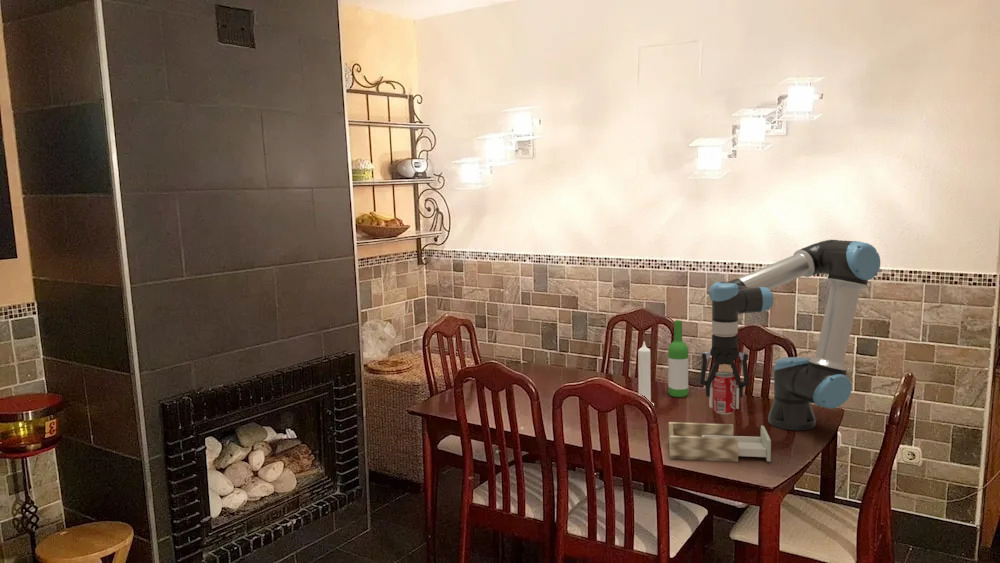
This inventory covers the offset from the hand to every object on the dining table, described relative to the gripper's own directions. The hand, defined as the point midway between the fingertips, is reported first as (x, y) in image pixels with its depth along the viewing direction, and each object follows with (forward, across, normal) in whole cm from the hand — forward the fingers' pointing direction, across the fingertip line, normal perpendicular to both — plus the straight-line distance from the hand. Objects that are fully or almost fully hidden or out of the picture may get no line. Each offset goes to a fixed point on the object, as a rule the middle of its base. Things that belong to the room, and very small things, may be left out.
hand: (723, 406), depth 220 cm
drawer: (+14, -3, 0) cm, 15 cm away
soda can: (+2, 0, 0) cm, 2 cm away
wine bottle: (+15, +11, -61) cm, 63 cm away
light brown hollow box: (+15, +6, 0) cm, 16 cm away
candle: (+15, +24, -46) cm, 54 cm away
